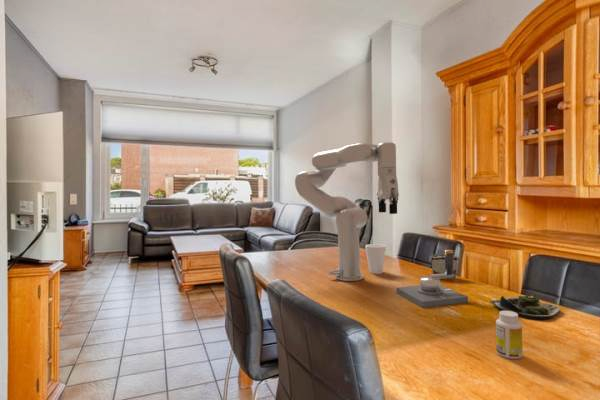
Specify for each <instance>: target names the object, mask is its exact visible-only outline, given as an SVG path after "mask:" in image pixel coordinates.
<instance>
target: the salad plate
mask: <svg viewBox="0 0 600 400" xmlns="http://www.w3.org/2000/svg"><path fill="white" fill-rule="evenodd" d="M489 303H490V304H492V305H493V306H495V308H496V309H497V310H498V311H499V312H500V311H512V312H515V313H517V314H518V318H522V319H528V320H536V321H543V320H544V321H545V320H546V321H547V320H549V319H552V318H554V316H556V315H558V314H559V312H560V311H561V309H560V307H559V306H557V305H554V304H552V303H546V302H540V299H539V298H538V297H536V296H533V295H530V296H528V295H519V296H518V297H506V296H504V295H501V297H500V299H499V300H498V299H496V300H490V301H489Z"/></svg>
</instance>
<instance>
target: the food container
mask: <svg viewBox="0 0 600 400" xmlns="http://www.w3.org/2000/svg"><path fill="white" fill-rule="evenodd" d="M459 261H460V258H459V257H458V255H455V254H453V265H454V276H455V277H451V278H440V280H441V279H442V280H451V279H453V280H456V278H457V267H458V262H459ZM429 262H431V268H432V269H431V270H432V274H443V273H445V253H436V254H431V255H430V257H429Z"/></svg>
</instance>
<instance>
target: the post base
mask: <svg viewBox="0 0 600 400" xmlns="http://www.w3.org/2000/svg"><path fill="white" fill-rule="evenodd" d="M395 289H396V290H395V291H396V293H397V294H398V295H400V296H402V297H403V298H405V299H406V300H408V301H410V302H412V303H414V304H415V305H417V306H419V307H421V308H429V307H430V308H431V307H437V306H447V305H456V304H464V303H469V296H468V295H464V294H463V293H460V292H458V291H455V290H453V289H451V288H449V287H446V286H444V285H441V284H440V291H439V292H427V291H423V290H421V289H420V284H419V285H409V286H401V287H396V288H395Z"/></svg>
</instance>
